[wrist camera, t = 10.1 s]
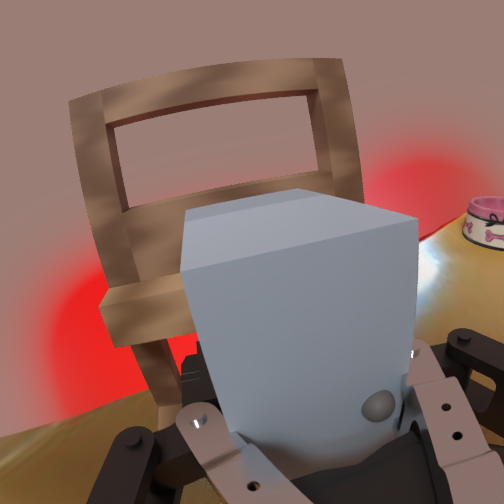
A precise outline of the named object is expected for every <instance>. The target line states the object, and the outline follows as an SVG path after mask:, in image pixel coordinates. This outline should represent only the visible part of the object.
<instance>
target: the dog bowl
mask: <svg viewBox="0 0 504 504" xmlns="http://www.w3.org/2000/svg"><path fill="white" fill-rule="evenodd" d="M463 235H464V237H465V238H466V239H467V240H469V241H470V242H472V243H474V244H477V245H479V246H482V247H485V248H489V249H494V250H499V251H504V197H499V196H497V197H496V196H484V197H476V198H473V199H472V200H471V201H470V203H469V207H468V209H467V215H466V219H465V224H464V228H463Z"/></svg>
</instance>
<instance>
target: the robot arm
mask: <svg viewBox="0 0 504 504" xmlns="http://www.w3.org/2000/svg"><path fill="white" fill-rule="evenodd" d="M196 343H197V354H194V355H189V356H186V357H185V359H184V361H183V363H182V364H181V374H182V375H181V381H182V409H181V410H180V411H179V412H178V414H177V416H176V420H175V423H173V424H172V425H170V426H169V427H167V428H164V429H162V430H159V431H157V432H154V433H152V432H151V431H150V430H149V429H147V428H145V427H141V426H135V427H130V428H127V429H125V430H123V431H122V432H120V433H119V434H118V435H117V436H116V438H115V439H114V442H113V444H112V446H111V448H110V450H109V453H108V455H107V457H106V459H105V461H104V464H103V466H102V468H101V471H100V473H99V475H98V477H97V480H96V482H95V484H94V487H93V489H92V491H91V494H90V496H89V498H88V501H87V503H86V504H180V500H181V495H182V491H183V486H185V485H187V484H189V483H192V482H194V481H196V480H199V479H201V478H203V477H206V479H207V480H208V482H209V483H210V485H211V486H212V488H213V489H214V490H215V492H216V493H217V495H218V496H219V498H220V499H221V500H222V502H223V503H224V504H504V446H499V445H493V444H487V442H486V439H485V437H484V435H483V432H482V430H481V428H480V425H482V426H484V427H486V428H487V429H489V430H491V431H492V432H494V433H496V434H497V435H499V436H501V437H502V438H504V344H503V343H500V342H498V341H496V340H493V339H491V338H489V337H487V336H484V335H482V334H480V333H477V332H475V331H473V330H470V329H465V328H460V329H455V330H453V331H451V332H450V333H449V334H448V337H447V343H444V344H439V345H434V346H429V345H428V343H426V342H425V341H423V340H421V339H416V338H413V342H412V350H411V357H410V364H409V370H408V372H407V373H405V374H403V375H402V379H401V385H400V387H401V390H402V393H403V396H404V398H403V403H402V408H401V412H400V416H399V417H397V418H395V419H394V422H393V426H392V428H393V433H394V438H395V439H394V440H392V441H390V442H388V443H386V444H384V445H383V446H382V447H380V448H379V449H378V450H377V451H375V452H374V453H373V454H371V455H370V456H369V457H367V458H366V459H364V460H363V461H362V462H360V463H358V464H356V465H351V466H346V467H340V468H334V469H327V470H320V471H317V472H314V473H311V474H308V475H305V476H302V477H299V478H295V479H292V480H288V479H287V478H286V477H285V476H284V475H283V474H282V473H281V472H280V471H279V470H278V469H277V468H276V467H275V466H274V465H273V464H272V463H271V462H270V461H269V460H268V459H267V458H266V456H265V455H264V454H263V453H262V452H261V451H260V450H259V449H258V448H257V447H256V446H255V445H254V444H252V443H250V444H247V443H246V442H245V441H244V440H243V439H242V438H241V437H240V435H239V434H238V433H237V432H236V431H235V432H229V429H228V427H227V424H226V421H225V418H224V415H223V413H222V410H221V407H220V404H219V401H218V398H217V395H216V392H215V389H214V386H213V383H212V380H211V377H210V374H209V371H208V368H207V365H206V361H205V358H204V355H203V352H202V349H201V345H200V342H199V341H197V342H196ZM473 369H474V370H476V371H477V372H479V373H481V374H483V375H485V376H487V377H489V378H491V379H493V380H494V382H495V384H496V390H495V392H494V391H492V390H490V389H488V388H487V387H485V386H483V385H481V384H479V383H477V382H475V381H473V380H471V379H470V377H471V374H472V371H473ZM479 424H480V425H479Z"/></svg>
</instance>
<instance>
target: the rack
mask: <svg viewBox="0 0 504 504" xmlns="http://www.w3.org/2000/svg"><path fill="white" fill-rule="evenodd" d="M304 95H306V97H307V102H308V108H309V113H310V119H311V125H312V131H313V137H314V143H315V150H316V156H317V163H318V170H319V171H312V172H306V173H299V174H292V175H286V176H280V177H274V178H269V179H263V180H257V181H252V182H247V183H241V184H236V185H230V186H225V187H220V188H215V189H210V190H206V191H201V192H196V193H192V194H187V195H182V196H178V197H173V198H169V199H164V200H160V201H157V202H152V203H148V204H144V205H140V206H135V207H131V208H129V206H128V201H127V197H126V192H125V188H124V183H123V178H122V173H121V167H120V162H119V157H118V151H117V145H116V139H115V134H114V128H116V127H119V126H123V125H126V124H130V123H134V122H137V121H142V120H145V119H150V118H154V117H158V116H163V115H167V114H172V113H177V112H181V111H187V110H192V109H196V108H203V107H208V106H215V105H221V104H228V103H234V102H242V101H249V100H258V99H268V98H278V97H290V96H304ZM69 111H70V119H71V127H72V135H73V141H74V148H75V154H76V159H77V166H78V170H79V176H80V181H81V186H82V191H83V195H84V200H85V205H86V209H87V213H88V217H89V221H90V225H91V229H92V233H93V237H94V240H95V244H96V247H97V251H98V254H99V258H100V261H101V264H102V268H103V271H104V274H105V277H106V280H107V283H108V286H109V290H108V291H107V293H106V295H105V297H104V299H103V300H102V302H101V304H100V306H99V309H100V312H101V315H102V317H103V320H104V322H105V325H106V327H107V330H108V332H109V335H110V337H111V339H112V342H113V344H114V346H115V348H117V347H123V346H129V345H130V346H131V348H132V351H133V353H134V355H135V358H136V360H137V362H138V365H139V367H140V369H141V371H142V374H143V376H144V378H145V380H146V382H147V384H148V387H149V389H150V391H151V393H152V395H153V397H154V399H155V401H156V403H157V405H158V407H159V408H158V431H159V430H162V429H164V428H167V427H169V426H170V425H172V424H173V423H175V420H176V416H177V414H178V412H179V411H180V410H181V409H182V381H181V376H180V373H179V371H178V368H177V366H176V363H175V360H174V358H173V355H172V352H171V349H170V347H169V344H168V341H167V338H171V337H176V336H180V335H185V334H190V333H195V332H196V328H195V325H194V322H193V318H192V315H191V311H190V307H189V304H188V300H187V296H186V293H185V289H184V285H183V281H182V278H181V274H180V265H181V253H182V242H183V232H184V222H185V212H186V210H189V209H193V208H198V207H203V206H207V205H212V204H217V203H222V202H227V201H232V200H237V199H242V198H247V197H252V196H258V195H263V194H268V193H274V192H280V191H285V190H291V189H297V188H299V189H303V190H308V191H313V192H317V193H321V194H326V195H330V196H334V197H339V198H343V199H347V200H351V201H355V202H359V203H363V204H364V193H363V183H362V174H361V166H360V158H359V151H358V144H357V137H356V130H355V124H354V118H353V112H352V106H351V101H350V95H349V90H348V85H347V81H346V76H345V71H344V67H343V62H342V59H335V58H292V59H270V60H256V61H245V62H235V63H227V64H218V65H211V66H205V67H199V68H192V69H187V70H181V71H176V72H171V73H166V74H161V75H157V76H152V77H148V78H144V79H140V80H136V81H132V82H128V83H124V84H121V85H117V86H114V87H110V88H107V89H104V90H101V91H97V92H94V93H91V94H88V95H85V96H82V97H79V98H76V99H74V100H71V101H69Z"/></svg>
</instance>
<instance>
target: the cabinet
mask: <svg viewBox="0 0 504 504" xmlns="http://www.w3.org/2000/svg"><path fill="white" fill-rule="evenodd" d="M418 249H419V237H418V218H414V217H411V216H408V215H404V214H401V213H397V212H393V211H390V210H386V209H382V208H378V207H375V206H371V205H367V204H363V203H359V202H355V201H351V200H347V199H343V198H339V197H334V196H330V195H326V194H321V193H317V192H313V191H308V190H303V189H299V188H297V189H291V190H285V191H280V192H274V193H268V194H263V195H258V196H252V197H247V198H242V199H237V200H232V201H227V202H222V203H217V204H212V205H207V206H203V207H198V208H193V209H189V210H186V212H185V222H184V232H183V242H182V253H181V265H180V274H181V278H182V281H183V285H184V289H185V293H186V296H187V300H188V304H189V307H190V311H191V315H192V318H193V322H194V325H195V328H196V332H197V335H198V339H199V342H200V345H201V349H202V352H203V355H204V358H205V361H206V365H207V368H208V371H209V374H210V377H211V380H212V383H213V386H214V389H215V392H216V395H217V398H218V401H219V404H220V407H221V410H222V413H223V415H224V418H225V421H226V424H227V427H228V429H229V432H235V431H236V432H237V433H238V434H239V435H240V437H241V438H242V439H243V440H244V441H245V442H246V443H247V444H250V443H252V444H254V445H255V446H256V447H257V448H258V449H259V450H260V451H261V452H262V453H263V454H264V455H265V456H266V458H267V459H268V460H269V461H270V462H271V463H272V464H273V465H274V466H275V467H276V468H277V469H278V470H279V471H280V472H281V473H282V474H283V475H284V476H285V477H286V478H287V479H288V480H292V479H295V478H299V477H302V476H305V475H308V474H311V473H314V472H317V471H320V470H327V469H334V468H340V467H346V466H351V465H356V464H358V463H360V462H362V461H363V460H364V459H366V458H367V457H369V456H370V455H371V454H373V453H374V452H375V451H377V450H378V449H379V448H380V447H382V446H383V445H384V444H386V443H388V442H390V441H392V440H394V433H393V428H392V426H393V422H394V419H395V418H397V417H399V416H400V412H401V408H402V403H403V398H404V396H403V393H402V390H401V387H400V385H401V379H402V375H403V374H405V373H407V372H408V370H409V364H410V357H411V350H412V342H413V333H414V324H415V313H416V301H417V284H418Z"/></svg>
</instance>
